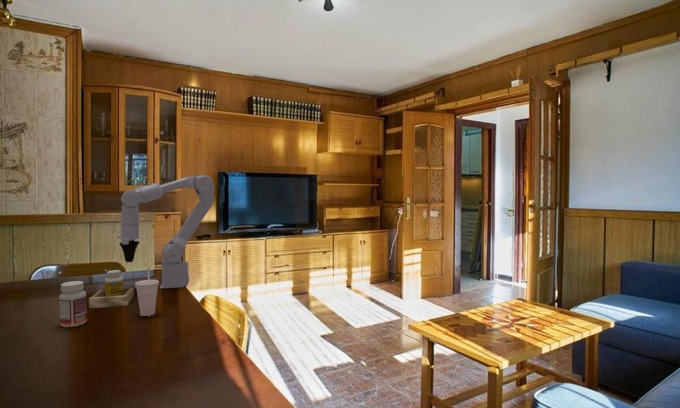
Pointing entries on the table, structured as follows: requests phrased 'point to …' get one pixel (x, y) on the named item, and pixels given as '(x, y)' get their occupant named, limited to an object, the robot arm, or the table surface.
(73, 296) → the pill bottle
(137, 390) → the table surface
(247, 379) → the table surface
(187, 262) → the robot arm
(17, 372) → the table surface
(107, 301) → the beech corral
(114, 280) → the supplement bottle
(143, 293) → the smoothie
